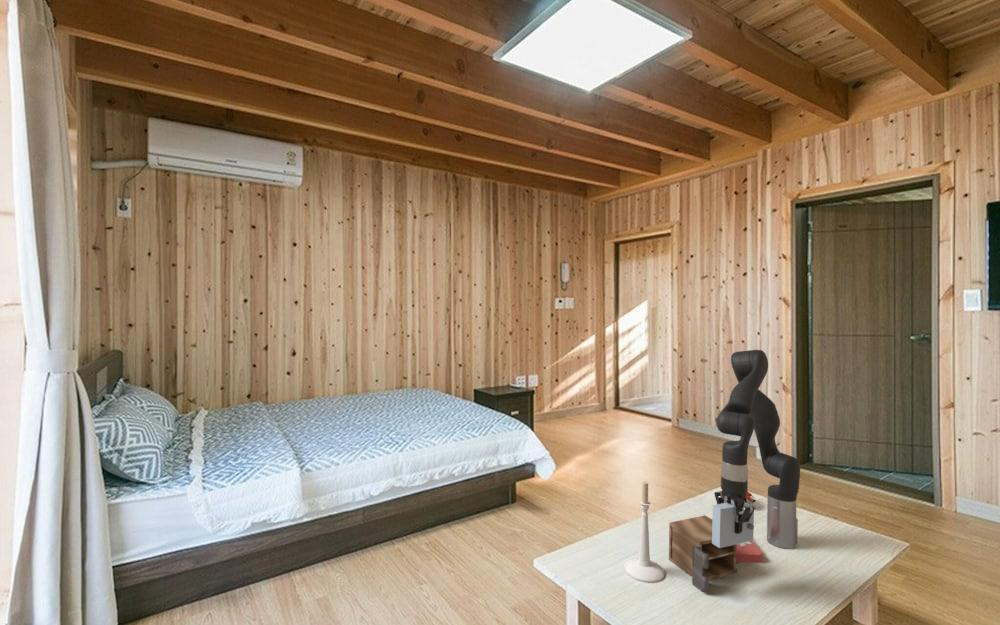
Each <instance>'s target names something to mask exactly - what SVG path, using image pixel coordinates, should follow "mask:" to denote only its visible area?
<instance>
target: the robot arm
mask: <svg viewBox="0 0 1000 625" xmlns="http://www.w3.org/2000/svg"><path fill="white" fill-rule="evenodd" d="M730 360H731V368H732V371H733V373H734V375H735V379H736V380H737V384H736V385H735V386H734V387H733V388H732V390H731V392H730V396H729V399H728V402H727V403H726V404H725V406H724V407H723V408H722V409H721V411H719V413H718V415H717V418H716V428H717V430H718V431H719V432H720V433H721V434H725V435H730V436H736V437H740V439H739V440H729V441H728V440H727V441H724V442H723V443H722V450H721V451H722V455H721V456H722V458H721V467H720V468H721V470H720V489H721V491H715V492H714V493H713V494H714V497H715V501H716V505H717V504H723V503H727V504H728V503H729V504H731V505H732V506H733V514H734V515H735V528H734V532H735V533H736V534H740V533H741V532H742V526H743V523H744V522H749V520H750V518H751V516H752V514H753V512H754V513H755V508H756V507H755V506H754V507H753V506H750V505H749V504H748V503H747V499H746V494H747V492H749V491H748V488H749V487H748V485H749V483H748V480H749V474H748V473H749V469H748V450H749V446H750V445H749V444H750V441H751V438H752V436H753V433H755V437H756V441H757V444H758V449H759V453H760V459H761V464H762V467H763V469H764V471H765V472H766V473H767V474H769V475H771V476H772V477H775V478H777V479H779V483H778V484H773V485H769V486H768V488H767V512H766V514H767V515H766V518H767V520H766V527H767V528H766V541H767V542H768V543H769V544H770V545H773V546H775V547H776V548H777V547H778V548H780V549H794V548H796V546H797V545H798V534H799V533H798V530H799V529H798V527H799V526H798V525H799V524H798V523H799V521H798V520H799V519H798V518H797V502H798V500H797V499H798V498H797V497H798V493H799V490H800V478H801V465H800V462H799V460H798V459H797V458H796V457H795V456H793V455H789V454H786V453H783V452H780V450H779V449H778V447H777V446H778V445H777V443H776V435H777V433H778V431H779V430H780V427H781V419H780V416H779V412H778V409H777V406H776V405H775V402H773V400H771V398H769V397H768V395H766V394H765V393H764V392H763V391H761V390H760V389H759V388H760V387H761V385H762V383H763V382H764V379H765V377H766V375H767V373H768V370H769V361H768V360H769V358H768V357H767V354H766V353H765V352H764V351H763V350H761V349H752V350H742V351H741V350H740V351H735V352H734V351H733V353H732V354H731V357H730ZM737 510H740V511H737Z"/></svg>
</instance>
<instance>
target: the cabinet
mask: <svg viewBox="0 0 1000 625" xmlns="http://www.w3.org/2000/svg"><path fill="white" fill-rule="evenodd" d="M668 533H669V534H668V538H669V540H668V560H669V561H670V562H671V563H673V564H674V565H675V566H676V567H678V568H679V569H681V570H682V571H684V572H685V573H686V574H687V575H689V576H690V577H692V578H691V585H692V586H693V587H695V588H696V589H697V590H699V591H700V592H702V593H703V592H704V593H708V592H709V581H711V580H713V579H718V578H721V577H725V576H728V575H732V574H736V573H738V568H737V561H736V545H731V546H727V547H723V548H718V547H717V546H715V545H714V544H712V518H710V517H709V516H707V515H705V514H704V515H699V516H695V517H691V518H685V519H681V520H676V521H671V522H669V526H668Z"/></svg>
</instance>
